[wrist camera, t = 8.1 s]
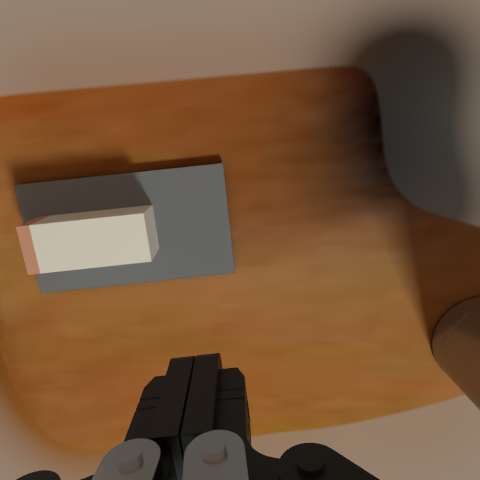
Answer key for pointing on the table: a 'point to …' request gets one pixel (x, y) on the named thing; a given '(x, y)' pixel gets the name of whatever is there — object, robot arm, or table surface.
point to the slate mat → (166, 219)
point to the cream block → (89, 239)
